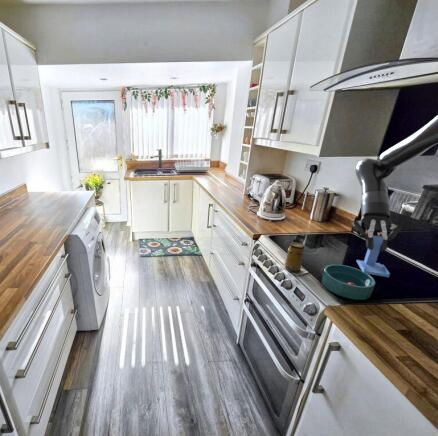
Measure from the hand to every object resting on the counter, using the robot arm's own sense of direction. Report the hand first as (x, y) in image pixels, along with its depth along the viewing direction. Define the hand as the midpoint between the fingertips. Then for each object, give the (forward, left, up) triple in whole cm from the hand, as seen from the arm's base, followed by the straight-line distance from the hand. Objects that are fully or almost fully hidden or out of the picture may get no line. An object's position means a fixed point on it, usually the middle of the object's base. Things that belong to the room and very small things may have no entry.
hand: (376, 249), depth 82 cm
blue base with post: (0, +1, -7) cm, 7 cm away
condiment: (+21, -11, -20) cm, 31 cm away
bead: (+3, -2, -18) cm, 18 cm away
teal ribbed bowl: (+4, -4, -20) cm, 21 cm away
